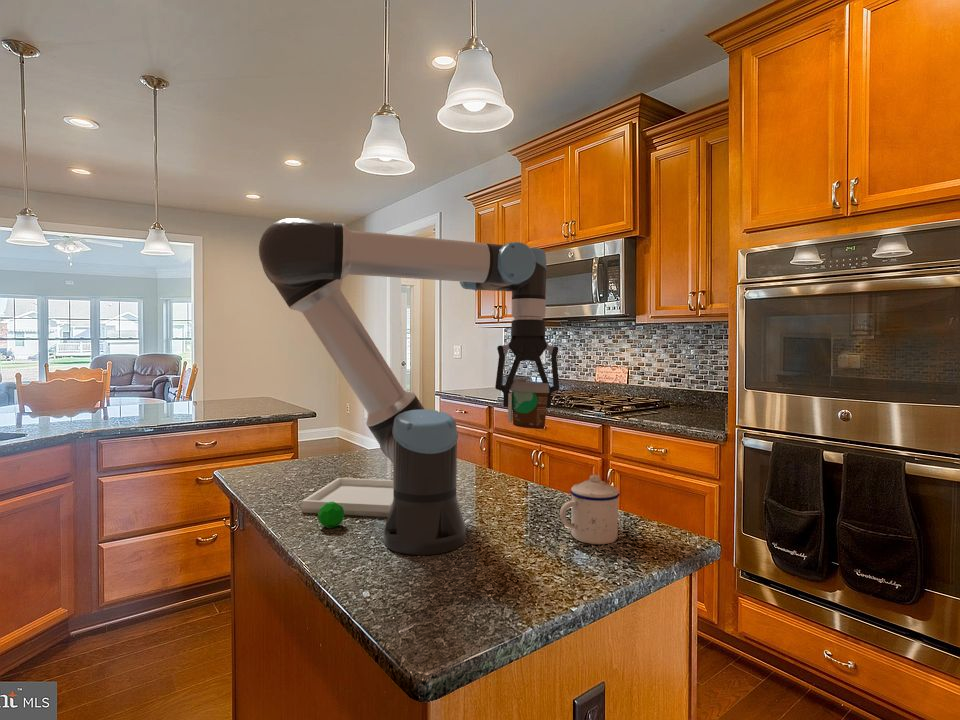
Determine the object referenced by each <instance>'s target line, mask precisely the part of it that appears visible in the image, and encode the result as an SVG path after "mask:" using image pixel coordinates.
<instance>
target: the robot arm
mask: <svg viewBox="0 0 960 720" xmlns="http://www.w3.org/2000/svg"><path fill="white" fill-rule="evenodd" d="M258 256H259V259H260V263H261V265H262V268H263V271H264V275H266V277H267V279H268V280H269V281H270V283H271V284H273V285H274V287H275V288H276V291H278V293H279V294H280V296H281V298H282V299H283V301H284V302H285V304H286V305H287V306H288V308H289V309H290V310H293V311H296V312H297V311H298V312H300V313H302V315H303V316H304V317H305V319H306V321H307V322H308V324H309V325H310V327H311V328H312V330H313V332H314V333H315V334H316V336H317V338H318V339H319V341H320V342H321V343H322V345H323V347H324V348H325V350H326V351H327V353H328V355H330V358H331V359H332V360H333V362H334V364H335V365H336V366H337V368H338V369H339V371H340V372H341V374H342V376H343V377H344V379H345V380H346V382H347V383H348V384H349V387H350V388H351V389H352V391H353V393H354V394H355V395H356V397H357V398H358V400H359V401H360V403H361V404H362V406H363V408H364V409H365V411H366V412H367V418H366V419H367V420H366V423H365V424H366V426H367V427H368V429H369V431H370V433H371V434H372V435H373V437H374V438H375V440H376V441H377V443H378V444H379V448H380V450H381V451H382V453H383V454H384V456H385V457H386V458H387V459H388V460H389V461H391V463H392V465H393V467H392V468H393V469H392V471H393V474H392V475H393V477H392V478H393V479H392V480H393V502H392V505H391V508H390V512H389V515H388V517H386V518H387V519H386V520H385V524H384V527H383V544H384V546H385V547H386V548H387V549H390V550H391V551H393V552H397V553H401V554H405V555H411V556H428V555H429V556H431V555H438V554H439V555H440V554H443V553H448V552H451V551H454V550H456V549H458V548H460V547H461V546H463V544H465V542H466V540H467V539H466V538H467V537H466V536H467V531H466V530H467V528H466V523H465V521H464V517H463V514H462V511H461V508H460V505H459V502H458V499H457V482H458V481H457V472H458V471H457V470H458V465H457V462H458V459H457V458H458V438H459V436H458V434H459V432H458V430H457V422H456V419H455V417H453V416H452V415H451V414H450V413H447V412H445V411H439V410H434V409H425V408H424V406H423V405H422V403H421V402H420V400H419V398H418V397H417V395H416V394H415V392H410V391H406V390H404V388H403V387H402V385H401V384H400V382H399V380H398V379H397V377H396V375H395V374H394V373H393V371H392V369H391V367H390V366H389V364H388V363H387V361H386V360H385V358H384V357H383V355H382V353H381V351H380V350H379V349H378V347H377V345H376V344H375V342H374V340H373V339H372V337H371V336H370V334H369V333H368V331H367V330H366V328H365V327H364V325H363V323H362V321H361V320H360V319H359V317H358V315H357V314H356V313H355V311H354V310H353V307H352V306H351V304H350V303H349V302H348V299H347V298H346V297H345V295H344V293H343V291H342V287H341V286H342V284H343V279H344V278H346V276H348V275H353V276H370V277H371V276H372V277H382V278H383V277H385V278H400V279H401V278H402V279H416V280H417V279H418V280H435V281H450V282H459V284H460V286H461V288H463V289H465V290H473V291H475V292H477V291H494V292H495V291H496V292H498V291H499V292H501V291H502V292H511V317H512V318H513V319H512V321H510V322H511V330H510V331H511V333H510V334H511V335H510V341H509V342H508V344H504V345H498V346H497V347H496V348H497V353H498V362H497V370H496V371H497V372H496V377H495V378H496V379H495V389H496V390H498V391H501V392H502V394H503V396H502V397H503V399H502V400H503V408H507V423H513V405H512V391H510V386H511V384H512V381H513V380H514V379H515V377H516V374H517V371H518V370H519V366H520V364H521V362H525V361H530V362H535V365H536V368H537V371H538V374H539V378H540V380H541V383H549V393H548V397H547V408H546V409H550V408H551V406H552V394H553V393H555V392H558V391H560V383H559V382H560V380H559V379H560V378H559V371H558V360H557V359H558V358H557V356H558V352H559V347H558V346H557V345H550V344H548V342H547V341H546V321H545V320H544V319H545V318H546V306H547V302H546V301H547V300H546V295H547V294H546V290H547V272H548V267H547V255H546V252H545V251H544V249H541V248H538V247H529V246H528V245H527V244H525V243H524V242H520V241H513V242H509V243H505V244H499V243H498V244H496V243H485V242H478V241H477V242H476V241H468V240H467V241H466V240H464V241H463V240H454V239H445V238H433V237H423V236H412V235H403V234H401V235H400V234H393V233H392V234H391V233H381V232H370V231H358V230H351V229H349V228H348V227H347V226H346V224H345V223H341V222H340V223H339V222H330V221H321V220H314V219H306V218H298V217H296V218H294V217H290V218H288V217H287V218H284V219H279V220H277V221H275V222H274V223H272V224H271V225H269V226H268V227H267V228H266V229H265V231H264V232H263V233H262V236H261V238H260V241H259V244H258ZM509 350H510V351H511V352H512V353H513V355H514V361H513V363H512V366H511V368H510V371H509V373H508V375H507V376H508V377H507V378H506V382H505V384H504V385H503V380H504V373H505V372H504V371H505V363H506V355H507V354H508V353H509ZM545 350H547V353H548V355H550V359H551V360H550V361H551V374H552V381H553V382H552V386H550V382H549V380H548V376H547V374H546V372H545V368H544V365H543V361H542V358H541V357H542V355H543V353H544V352H545ZM546 419H547V418H545V420H546Z"/></svg>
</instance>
